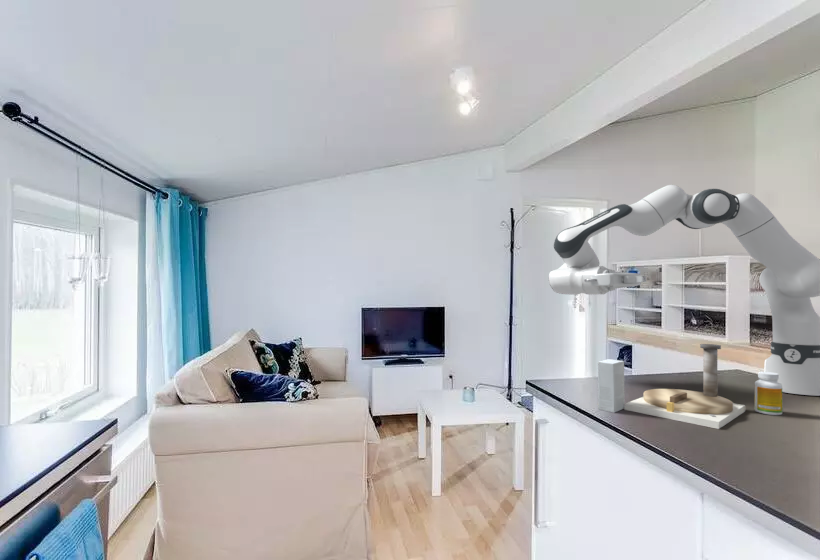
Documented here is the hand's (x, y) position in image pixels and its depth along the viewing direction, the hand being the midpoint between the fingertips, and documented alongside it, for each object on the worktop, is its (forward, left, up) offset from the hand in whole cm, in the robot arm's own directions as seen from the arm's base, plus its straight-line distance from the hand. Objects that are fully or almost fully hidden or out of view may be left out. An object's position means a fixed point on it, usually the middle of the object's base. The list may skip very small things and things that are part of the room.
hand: (644, 278), depth 132 cm
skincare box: (+25, +2, -33) cm, 41 cm away
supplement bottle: (-2, +28, -33) cm, 44 cm away
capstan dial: (+11, +14, -31) cm, 36 cm away
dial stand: (+12, +14, -33) cm, 38 cm away
